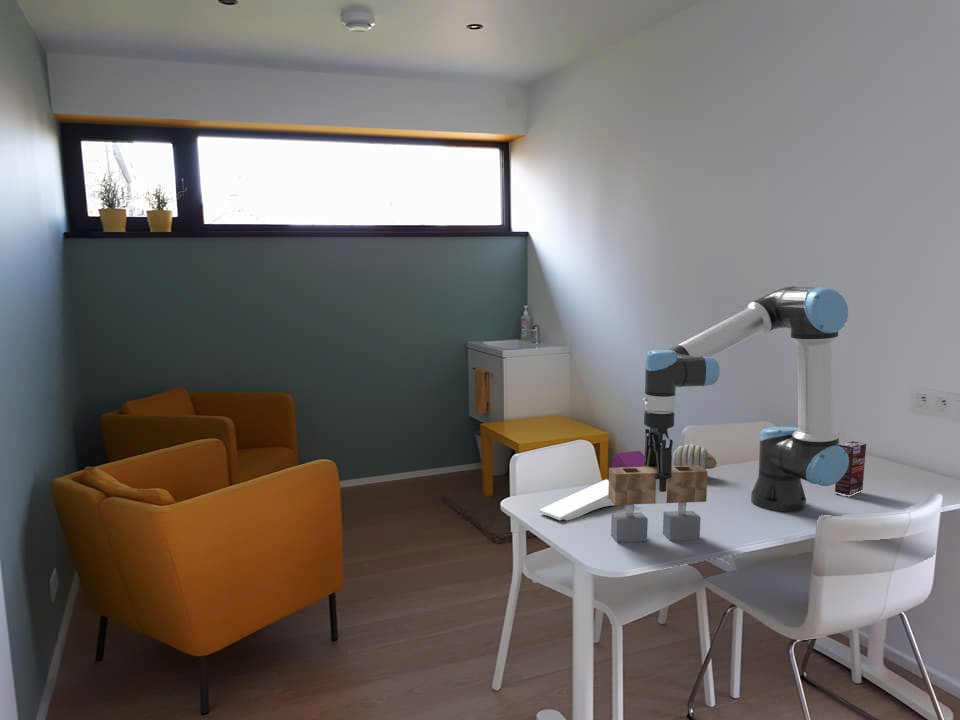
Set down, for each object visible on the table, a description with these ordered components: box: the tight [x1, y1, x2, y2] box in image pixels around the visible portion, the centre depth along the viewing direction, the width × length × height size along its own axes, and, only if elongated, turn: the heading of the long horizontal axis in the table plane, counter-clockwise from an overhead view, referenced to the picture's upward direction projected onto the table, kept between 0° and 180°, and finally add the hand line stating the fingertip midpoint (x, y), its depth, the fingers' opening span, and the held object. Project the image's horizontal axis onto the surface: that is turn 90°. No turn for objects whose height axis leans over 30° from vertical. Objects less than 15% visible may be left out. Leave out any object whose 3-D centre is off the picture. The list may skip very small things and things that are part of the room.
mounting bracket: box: [611, 450, 647, 468], centre depth 233 cm, size 9×8×18 cm
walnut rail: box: [608, 465, 709, 506], centre depth 185 cm, size 24×6×8 cm, turn 96°
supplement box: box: [834, 440, 867, 495], centre depth 223 cm, size 9×5×16 cm, turn 126°
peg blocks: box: [610, 503, 701, 543], centre depth 187 cm, size 22×5×10 cm, turn 96°
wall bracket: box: [538, 479, 615, 522], centre depth 210 cm, size 10×7×28 cm
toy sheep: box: [672, 443, 717, 471], centre depth 242 cm, size 11×17×11 cm, turn 70°
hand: (656, 498), depth 186 cm, fingers closed on walnut rail, 6 cm apart
